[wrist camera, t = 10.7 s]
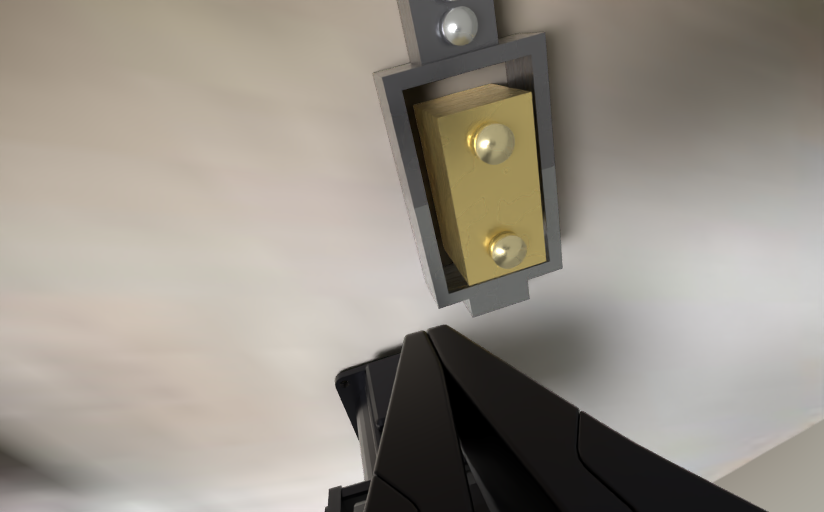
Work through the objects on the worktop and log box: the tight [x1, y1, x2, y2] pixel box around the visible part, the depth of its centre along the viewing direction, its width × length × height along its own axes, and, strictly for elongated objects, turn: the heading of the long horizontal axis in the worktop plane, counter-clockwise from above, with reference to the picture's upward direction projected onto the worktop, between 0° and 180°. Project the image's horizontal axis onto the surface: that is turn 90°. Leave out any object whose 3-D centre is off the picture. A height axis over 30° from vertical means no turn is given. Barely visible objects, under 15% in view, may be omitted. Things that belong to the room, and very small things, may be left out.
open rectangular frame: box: [372, 0, 563, 317], centre depth 19 cm, size 15×6×3 cm, turn 13°
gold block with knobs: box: [413, 84, 546, 286], centre depth 18 cm, size 7×4×5 cm, turn 12°
